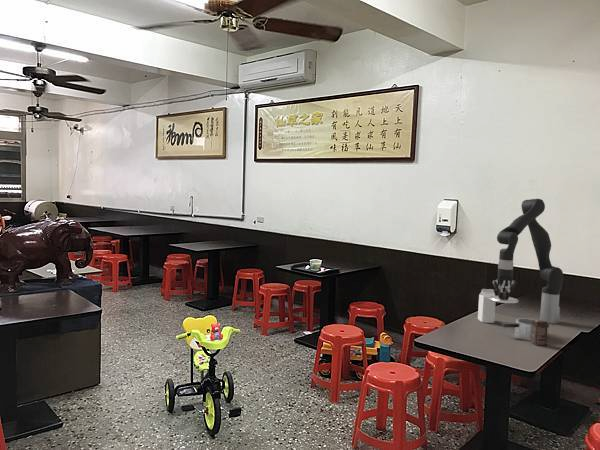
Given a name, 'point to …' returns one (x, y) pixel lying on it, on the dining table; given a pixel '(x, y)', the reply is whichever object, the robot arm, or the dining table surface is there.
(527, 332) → the pot
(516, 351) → the dining table surface
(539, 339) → the box
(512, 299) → the lid
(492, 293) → the milk carton
